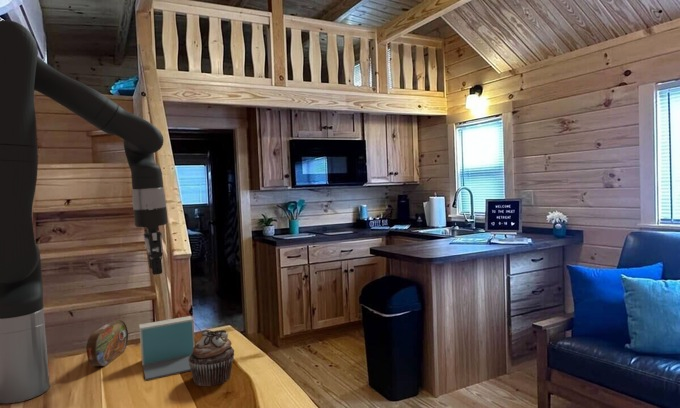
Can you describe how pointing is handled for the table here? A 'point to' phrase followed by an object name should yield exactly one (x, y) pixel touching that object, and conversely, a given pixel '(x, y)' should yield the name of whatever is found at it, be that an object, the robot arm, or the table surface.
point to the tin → (107, 343)
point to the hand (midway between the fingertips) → (156, 271)
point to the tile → (166, 339)
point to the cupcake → (211, 359)
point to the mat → (166, 368)
